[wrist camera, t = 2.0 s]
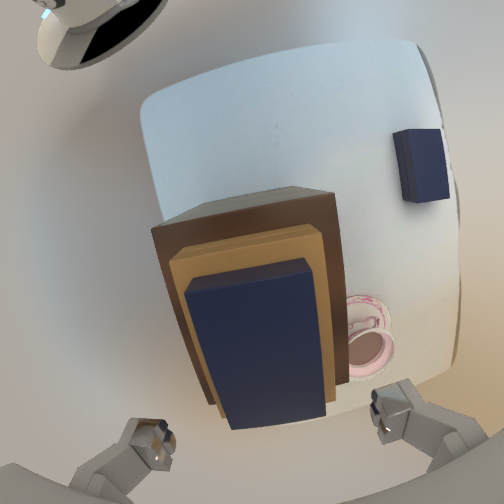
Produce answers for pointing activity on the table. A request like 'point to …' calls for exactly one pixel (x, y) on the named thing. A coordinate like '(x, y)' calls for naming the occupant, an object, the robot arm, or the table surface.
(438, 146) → the navy books
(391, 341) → the teacup
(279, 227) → the book stand
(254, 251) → the tan books
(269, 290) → the navy book
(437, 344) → the table surface
